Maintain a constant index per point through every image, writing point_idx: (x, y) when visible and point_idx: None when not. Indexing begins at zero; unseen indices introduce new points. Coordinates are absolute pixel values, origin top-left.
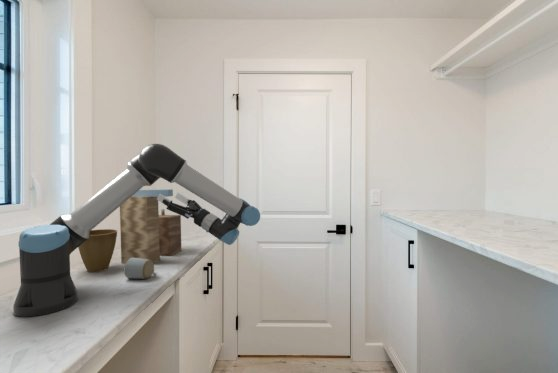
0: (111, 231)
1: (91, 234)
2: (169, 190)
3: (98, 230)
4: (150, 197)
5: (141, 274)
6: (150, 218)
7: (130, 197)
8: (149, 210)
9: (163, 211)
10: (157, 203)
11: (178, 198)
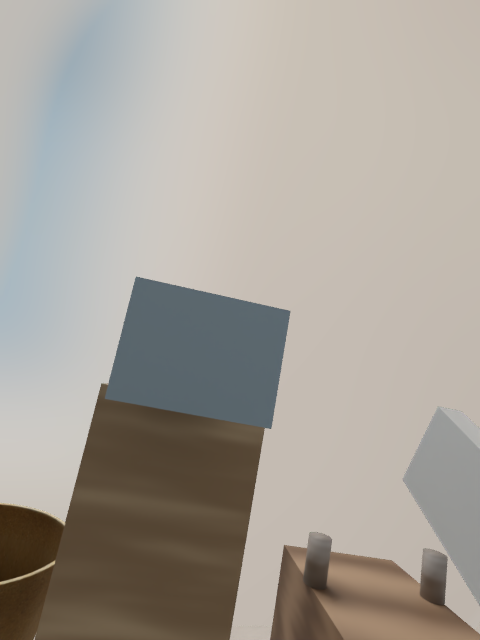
0: None
1: (39, 534)
2: (191, 303)
3: (61, 527)
4: None
5: None
6: (92, 626)
7: None
8: (101, 530)
9: (433, 573)
10: (242, 487)
11: (442, 517)
